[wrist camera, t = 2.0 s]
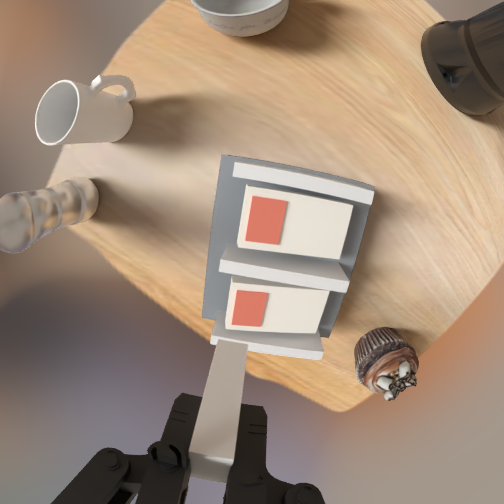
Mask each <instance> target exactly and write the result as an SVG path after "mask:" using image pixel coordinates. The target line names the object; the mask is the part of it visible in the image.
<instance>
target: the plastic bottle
mask: <svg viewBox="0 0 504 504" xmlns="http://www.w3.org/2000/svg"><path fill="white" fill-rule="evenodd" d="M98 202H99V194H98V190H97V188H96V186H95V185H94V183H93V182H92V181H91V180H89V179H87V178H84V177H73V178H70V179H68V180H65V181H64V182H62V183H60V184H57V185H55V186H52V187H49V188H46V189H42V190H35V191H27V192H14V193H9V194H6V195H5V196H3V197H2V198H1V199H0V250H2V251H5V252H9V253H18V252H22V251H23V250H25V249H26V248H28V247H29V246H31V245H32V244H33V243H34V242H36V241H37V240H39V239H40V238H41V237H43V236H44V235H46V234H48V233H50V232H52V231H53V230H55V229H58V228H61V227H64V226H68V225H74V224H79V223H83V222H85V221H86V220H88V219H89V218H90V217H91V216H93V214H94V213H95V212H96V210H97V207H98Z"/></svg>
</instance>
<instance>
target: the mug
mask: <svg viewBox="0 0 504 504" xmlns="http://www.w3.org/2000/svg"><path fill="white" fill-rule="evenodd" d="M111 85H122V86H123V87H125V91H124V92H123V93H122V94H120V95H119V96H116V95H113V94H110V93H107V92H104V91H101V90H102V89H104V88H106V87H108V86H111ZM135 97H136V91H135V88H134V84H133V82H132V81H131V79H129V78H128V77H126V76H122V75H108V76H102V75H99V76H97V77H96V78H95V79H94V80H93V81H92V84H91V85H90V86H86V85H83V84H80V83H77V82H73V81H70V80H61V81H58V82H56V83H55V84H53V85H52V86H51V87H50V88H49V89H48V90H47V91H46V92H45V94H44V95H43V97H42V99H41V101H40V103H39V106H38V108H37V112H36V117H35V128H36V133H37V136H38V138H39V139H40V141H42V143H44V144H46V145H62V144H76V143H101V142H115V141H118V140H120V139H121V138H123V137H124V136H125V135H126V134H127V132H128V131H129V129H130V127H131V125H132V122H133V109H132V107H131V105H130V103H129V101H131V100H132V99H134V98H135Z"/></svg>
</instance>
